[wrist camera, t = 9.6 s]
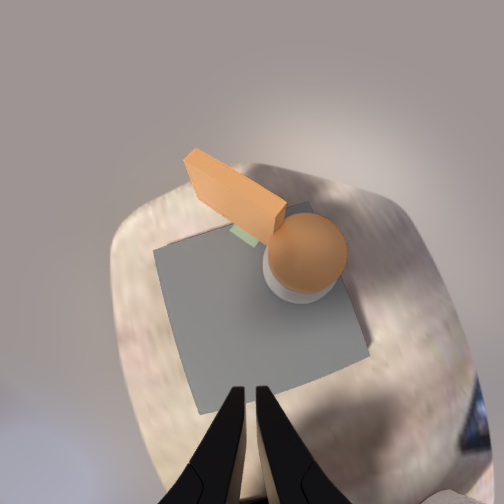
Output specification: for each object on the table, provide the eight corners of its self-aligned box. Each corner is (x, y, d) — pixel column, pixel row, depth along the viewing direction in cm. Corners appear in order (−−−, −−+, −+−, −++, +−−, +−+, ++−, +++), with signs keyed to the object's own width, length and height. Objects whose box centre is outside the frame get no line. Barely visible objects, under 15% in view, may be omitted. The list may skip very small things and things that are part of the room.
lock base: (203, 410, 20) (191, 423, 16) (157, 251, 24) (140, 234, 20) (363, 355, 21) (383, 356, 17) (304, 205, 25) (311, 181, 21)
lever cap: (349, 253, 20) (375, 225, 15) (312, 311, 19) (331, 299, 14) (223, 172, 23) (215, 129, 18) (181, 217, 22) (161, 181, 16)
